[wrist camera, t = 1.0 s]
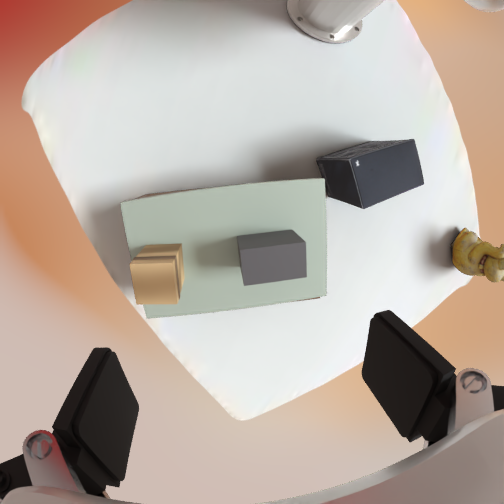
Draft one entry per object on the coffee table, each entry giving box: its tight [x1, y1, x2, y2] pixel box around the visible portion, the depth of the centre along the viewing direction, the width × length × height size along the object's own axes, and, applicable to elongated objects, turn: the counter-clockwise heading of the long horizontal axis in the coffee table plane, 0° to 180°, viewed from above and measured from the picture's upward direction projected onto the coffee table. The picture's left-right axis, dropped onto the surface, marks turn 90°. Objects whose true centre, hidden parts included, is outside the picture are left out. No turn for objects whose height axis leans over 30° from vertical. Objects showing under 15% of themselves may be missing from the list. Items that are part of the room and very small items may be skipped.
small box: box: [316, 139, 424, 209], centre depth 32 cm, size 11×6×10 cm, turn 111°
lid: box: [120, 178, 327, 318], centre depth 27 cm, size 14×22×6 cm, turn 95°
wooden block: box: [130, 243, 185, 304], centre depth 26 cm, size 4×4×6 cm
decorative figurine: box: [451, 228, 504, 282], centre depth 37 cm, size 10×8×15 cm
